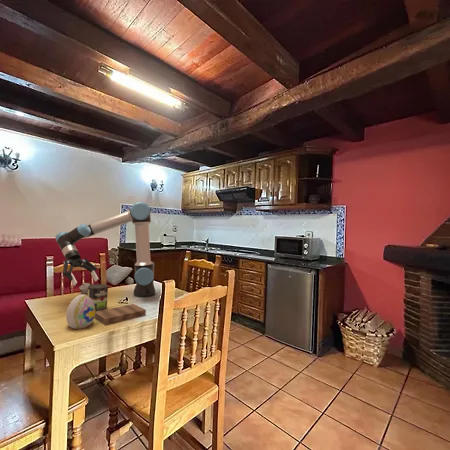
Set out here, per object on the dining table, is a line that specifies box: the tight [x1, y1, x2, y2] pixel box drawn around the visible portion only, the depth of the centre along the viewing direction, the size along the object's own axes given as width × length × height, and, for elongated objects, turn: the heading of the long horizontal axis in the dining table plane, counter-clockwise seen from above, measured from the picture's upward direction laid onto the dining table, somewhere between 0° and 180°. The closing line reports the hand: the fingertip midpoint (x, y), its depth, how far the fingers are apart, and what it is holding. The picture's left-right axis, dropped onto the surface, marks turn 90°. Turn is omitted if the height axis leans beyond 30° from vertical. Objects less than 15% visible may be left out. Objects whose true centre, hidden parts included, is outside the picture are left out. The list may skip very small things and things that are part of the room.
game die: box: [77, 281, 92, 295], centre depth 179 cm, size 9×8×10 cm
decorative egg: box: [65, 293, 95, 330], centre depth 125 cm, size 12×12×15 cm
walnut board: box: [94, 303, 147, 326], centre depth 139 cm, size 22×14×3 cm, turn 138°
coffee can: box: [87, 283, 109, 312], centre depth 146 cm, size 10×10×14 cm
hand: (86, 282), depth 150 cm, fingers open, 13 cm apart
